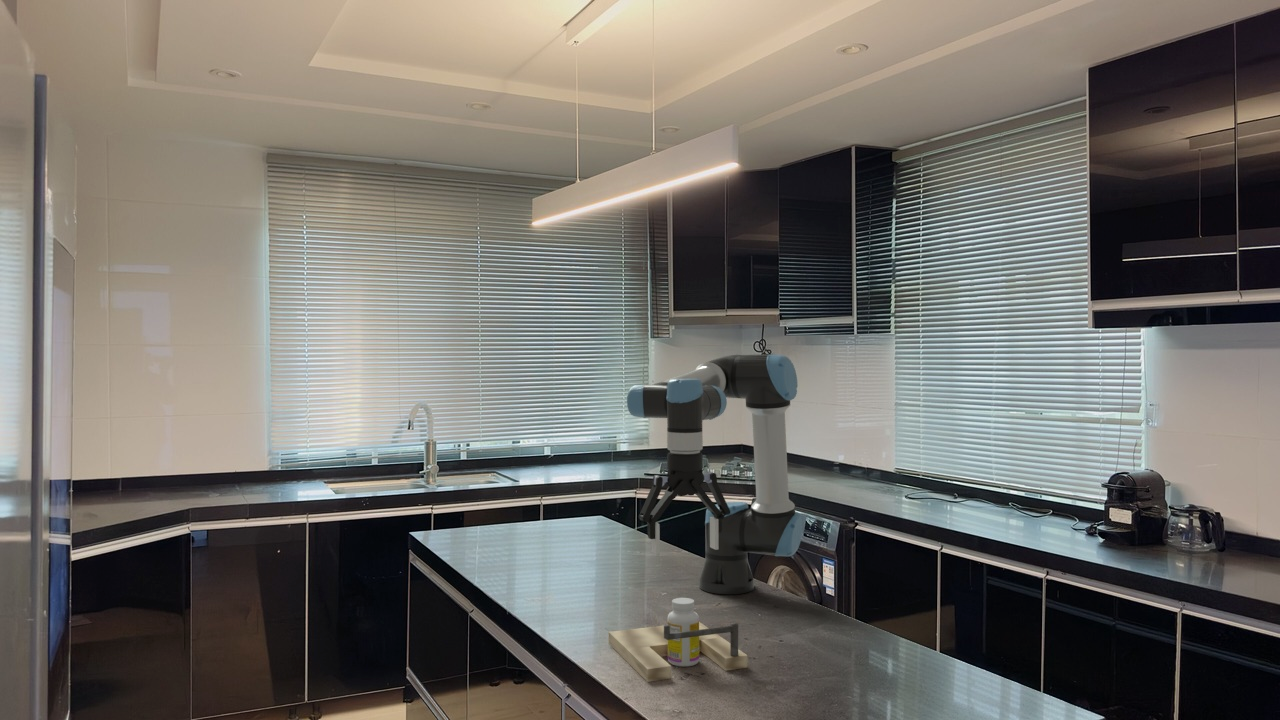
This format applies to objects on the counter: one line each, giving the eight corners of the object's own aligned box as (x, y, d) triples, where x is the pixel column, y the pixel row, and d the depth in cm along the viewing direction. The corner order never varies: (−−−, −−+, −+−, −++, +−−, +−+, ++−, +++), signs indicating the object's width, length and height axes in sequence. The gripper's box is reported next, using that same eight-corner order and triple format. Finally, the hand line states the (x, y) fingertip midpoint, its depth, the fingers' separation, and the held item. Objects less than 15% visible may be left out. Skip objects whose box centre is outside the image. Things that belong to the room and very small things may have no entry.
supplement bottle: (697, 656, 181) (697, 596, 181) (700, 667, 174) (701, 605, 174) (666, 656, 181) (666, 596, 181) (668, 668, 174) (668, 605, 174)
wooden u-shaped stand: (698, 632, 197) (698, 588, 197) (747, 667, 174) (747, 617, 174) (608, 643, 189) (608, 597, 189) (647, 681, 167) (647, 629, 167)
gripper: (729, 446, 188) (729, 542, 189) (623, 452, 179) (624, 552, 180) (745, 450, 181) (745, 549, 182) (636, 456, 172) (636, 560, 173)
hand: (685, 551), depth 181 cm, fingers open, 13 cm apart
